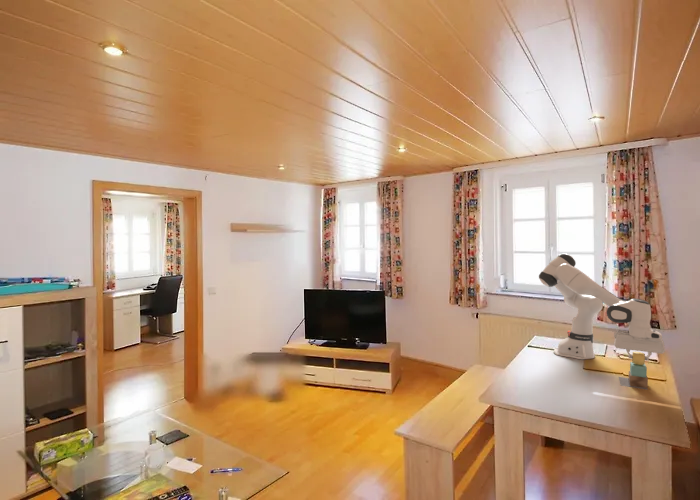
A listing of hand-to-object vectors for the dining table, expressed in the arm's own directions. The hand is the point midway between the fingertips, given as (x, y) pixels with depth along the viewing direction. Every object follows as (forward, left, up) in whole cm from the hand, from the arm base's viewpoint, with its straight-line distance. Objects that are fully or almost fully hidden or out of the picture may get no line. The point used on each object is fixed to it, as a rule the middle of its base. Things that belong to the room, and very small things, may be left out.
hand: (638, 359), depth 197 cm
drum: (0, 0, -2) cm, 2 cm away
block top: (0, 0, -8) cm, 8 cm away
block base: (0, 0, -13) cm, 13 cm away
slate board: (-2, +1, -14) cm, 14 cm away
